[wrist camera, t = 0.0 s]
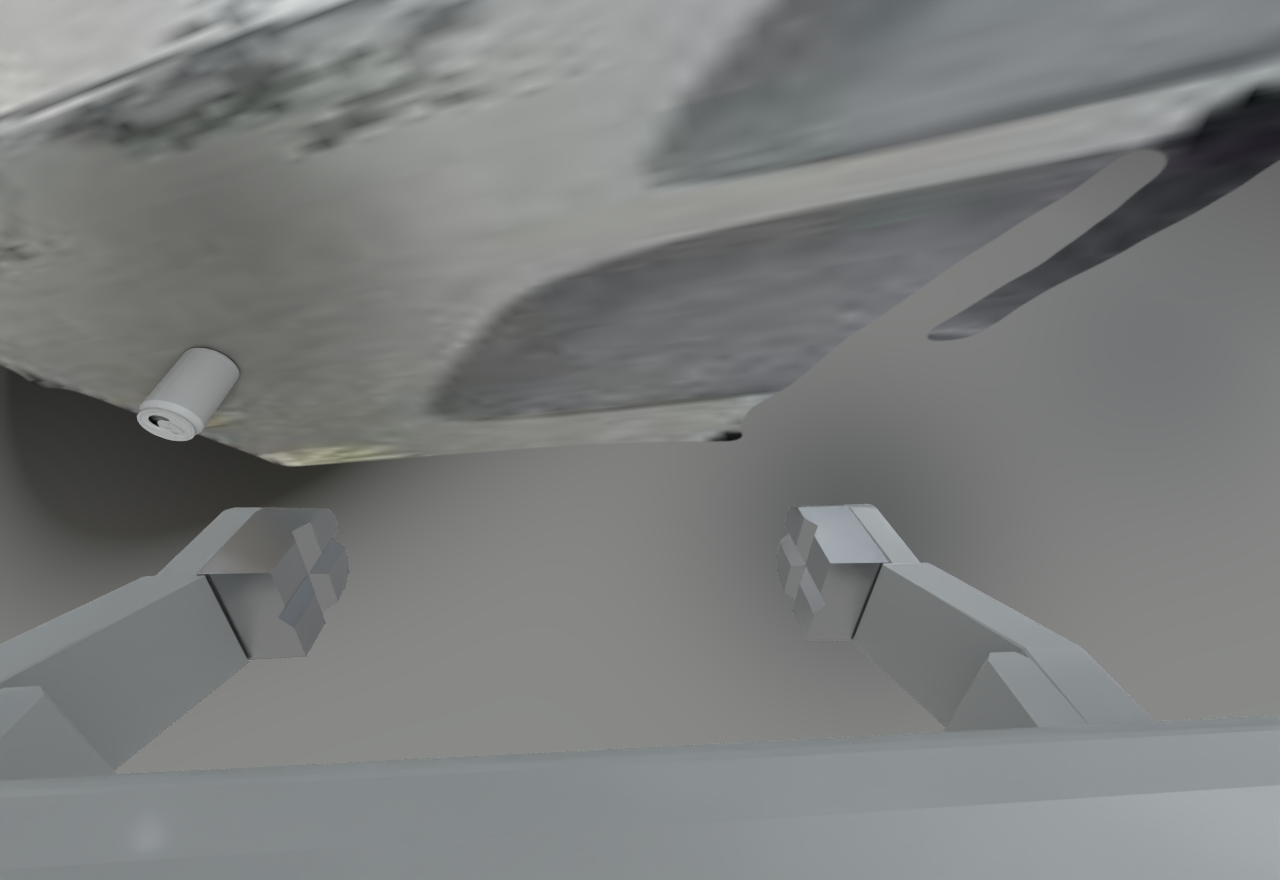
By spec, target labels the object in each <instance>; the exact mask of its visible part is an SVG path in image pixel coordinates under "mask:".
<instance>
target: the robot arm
mask: <svg viewBox="0 0 1280 880" xmlns="http://www.w3.org/2000/svg"><path fill="white" fill-rule="evenodd" d="M785 526H786V528H787V530H788V532H789V534H788V535H787V536H786V537H785V538H784V539H782V540H781V541H780V544H779V549H778V553H777V571H778V575H779V579H780V582H781V585H782V587H783V590H784V591H785V592H786V593H787V594H788V595H790V596H791V597H792V598H794V599H795V603H794V607H793V613H794V615H795V617H796V619H797V622H798V624H799V626H800V629H801V631H802V633H803V635H804V638H805V640H806V641H843V640H844V641H850V640H851V641H852V643H853V644H854V645H855V646H856V647H857V648H858V649H859V650H861V651H862V652H863V653H864V654H865V655H866V656H867V657H868V658H869V659H870V660H872V661H873V662H874V663H875V664H876V665H877V666H878V667H879V668H881V669H882V670H883V671H884V672H885V673H886V674H887V675H888V676H889V677H890V678H891V679H892V680H894V681H895V682H896V683H897V684H898V685H899V686H900V687H901V688H903V689H904V690H905V691H906V692H907V693H908V694H909V695H910V696H912V698H913V699H915V700H916V701H917V702H918V703H919V704H920V705H921V706H922V707H923V708H925V709H926V710H927V711H928V712H929V713H930V714H931V715H932V716H933V717H934V718H936V719H937V720H938V721H939V722H940V723H941V724H942V725H943V726H944V727H945V729H944V730H943V732H936V733H935V732H933V733H914V734H894V735H874V736H855V737H835V738H816V739H796V740H777V741H759V742H740V743H721V744H701V745H685V746H684V745H683V746H664V747H645V748H625V749H607V750H606V749H605V750H586V751H566V752H548V753H526V754H506V755H487V756H465V757H446V758H426V759H405V760H386V761H366V762H347V763H327V764H307V765H289V766H268V767H248V768H230V769H210V770H191V771H170V772H150V773H132V774H116V773H115V772H114V771H115V770H116V769H117V768H118V767H119V766H121V765H122V764H123V763H124V762H126V761H127V760H128V759H130V758H131V757H132V756H133V755H135V754H136V753H137V752H138V751H139V750H141V749H142V748H143V747H145V746H146V745H147V744H148V743H150V742H151V741H152V740H153V739H154V738H156V737H157V736H158V735H159V734H161V733H162V732H163V731H164V730H166V729H167V728H168V727H169V726H171V725H172V724H173V723H174V722H176V721H177V720H178V719H179V718H181V717H182V716H183V715H184V714H186V713H187V712H188V711H189V710H190V709H192V708H193V707H194V706H196V705H197V704H198V703H199V702H201V701H202V700H203V699H204V698H206V697H207V696H208V695H209V694H211V693H212V692H213V691H214V690H216V689H217V688H218V687H219V686H221V685H222V684H223V683H224V682H226V681H227V680H228V679H229V678H231V677H232V676H233V675H234V674H235V673H237V672H238V671H239V670H240V669H242V668H243V667H244V666H245V665H247V664H248V663H249V661H248V660H256V659H273V658H290V657H305V656H307V654H308V652H309V651H310V649H311V647H312V646H313V644H314V642H315V640H316V639H317V637H318V635H319V633H320V631H321V630H322V628H323V626H324V625H325V619H324V616H323V613H322V612H323V611H325V610H326V609H327V608H329V607H330V606H332V605H333V604H335V603H336V602H338V600H339V598H340V596H341V594H342V593H343V591H344V589H345V586H346V582H347V577H348V573H349V565H348V556H347V552H346V549H345V547H344V546H343V545H341V544H340V543H339V542H337V541H336V540H335V539H334V538H333V536H334V534H335V533H336V531H337V530H338V524H337V521H336V518H335V516H334V513H333V512H332V511H329V510H328V509H326V508H232V509H228V510H225V511H223V512H222V513H221V514H220V515H219V516H218V517H217V518H216V519H215V520H214V521H213V522H212V523H211V524H210V525H209V526H207V527H206V528H205V529H204V530H203V531H202V532H201V533H200V534H199V535H198V536H197V537H196V538H195V539H194V540H193V541H192V542H191V543H190V544H189V545H188V546H187V547H186V548H185V549H183V550H182V551H181V552H180V553H179V554H178V555H177V556H176V557H175V558H174V559H173V560H172V561H171V562H170V563H169V564H168V565H167V566H166V567H165V568H163V569H162V570H161V571H160V572H159V573H158V574H157V575H156V576H144V577H142V578H140V579H138V580H136V581H134V582H131V583H129V584H127V585H125V586H123V587H121V588H119V589H117V590H114V591H112V592H110V593H108V594H106V595H104V596H102V597H100V598H97V599H95V600H93V601H91V602H89V603H87V604H85V605H83V606H80V607H78V608H76V609H74V610H72V611H70V612H68V613H66V614H63V615H61V616H59V617H57V618H55V619H53V620H51V621H49V622H46V623H44V624H42V625H40V626H38V627H36V628H34V629H31V630H29V631H27V632H25V633H23V634H21V635H19V636H17V637H15V638H13V639H10V640H8V641H6V642H4V643H2V644H0V880H1280V715H1267V716H1248V717H1229V718H1210V719H1192V720H1191V719H1190V720H1170V721H1153V719H1151V717H1149V715H1148V714H1147V713H1146V712H1145V711H1144V710H1143V709H1142V708H1141V707H1140V706H1139V705H1138V704H1137V703H1136V702H1135V701H1134V700H1133V699H1132V698H1131V697H1130V696H1129V695H1128V694H1127V693H1126V692H1125V691H1124V690H1123V689H1122V688H1121V687H1120V686H1119V685H1118V684H1117V683H1116V682H1115V681H1114V680H1113V679H1112V678H1111V677H1110V676H1109V675H1108V674H1107V673H1106V672H1105V671H1104V670H1103V669H1102V668H1101V667H1100V666H1099V664H1098V663H1096V661H1094V659H1093V658H1092V657H1091V656H1090V655H1089V654H1088V653H1087V652H1086V651H1085V650H1084V649H1083V648H1082V647H1080V646H1078V645H1076V644H1074V643H1072V642H1071V641H1069V640H1067V639H1065V638H1064V637H1062V636H1060V635H1058V634H1056V633H1054V632H1053V631H1051V630H1049V629H1047V628H1045V627H1043V626H1042V625H1040V624H1038V623H1036V622H1035V621H1033V620H1031V619H1029V618H1027V617H1026V616H1024V615H1022V614H1020V613H1018V612H1017V611H1015V610H1013V609H1011V608H1009V607H1007V606H1006V605H1004V604H1002V603H1000V602H998V601H997V600H995V599H993V598H991V597H989V596H988V595H986V594H984V593H982V592H980V591H979V590H977V589H975V588H973V587H971V586H969V585H968V584H966V583H964V582H962V581H960V580H959V579H957V578H955V577H953V576H951V575H950V574H948V573H946V572H944V571H942V570H941V569H939V568H937V567H935V566H933V565H931V564H930V563H920V562H919V561H918V559H917V558H916V557H915V556H914V554H913V553H912V552H911V551H910V549H909V548H908V547H907V546H906V544H905V543H904V542H903V541H902V539H901V538H900V537H899V536H898V535H897V533H896V532H895V531H894V529H893V528H892V527H891V526H890V524H889V523H888V522H887V521H886V519H885V518H884V517H883V516H882V515H881V513H880V512H879V511H878V509H877V508H876V507H874V506H872V505H870V504H851V505H843V506H791V508H790V509H789V511H788V512H787V515H786V519H785Z"/></svg>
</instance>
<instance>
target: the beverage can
mask: <svg viewBox="0 0 1280 880" xmlns="http://www.w3.org/2000/svg"><path fill="white" fill-rule="evenodd" d="M238 378H239V370H238V368H237V366H236V365H235V364H234V362H232V360H231V359H229V358H228V357H227V356H225V355H224V354H222V353H220V352H218V351H215V350H212V349H207V348H191V349H189V350H187V351H185V352H184V354H183V355H182V356H181V357H180V358H179V360H178V361H177V362H176V363H175V364H174V365H173V367H172V368H171V369H170V370H169V371H168V373H167V374H166V375H165V376H164V377H163V379H162V380H161V381H160V382H159V383H158V385H157V386H156V387H155V388H154V389H153V391H152V392H151V393H150V394H149V395H148V396H147V398H146V399H145V400H144V401H143V402H142V404H141V405H140V407H139V411H140V412H139V414H138V415H137V420H138V422H139V423H140V424H141V426H142V427H143V428H145V429H146V430H147V431H149V432H151V433H153V434H155V435H157V436H159V437H162V438H165V439H169V440H174V441H186V440H190V439H192V438H193V437H194V436H195V435H196V434H199V433H200V432H202V430H203V429H204V428H205V426H206V425H207V423H208V422H209V420H210V419H211V418H212V416H213V415H214V413H215V412H216V410H217V409H218V407H219V406H220V405H221V403H222V402H223V400H224V399H225V397H226V396H227V394H228V393H229V391H230V390H231V389H232V387H233V386H234V384H235V383H236V381H237V380H238Z"/></svg>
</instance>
